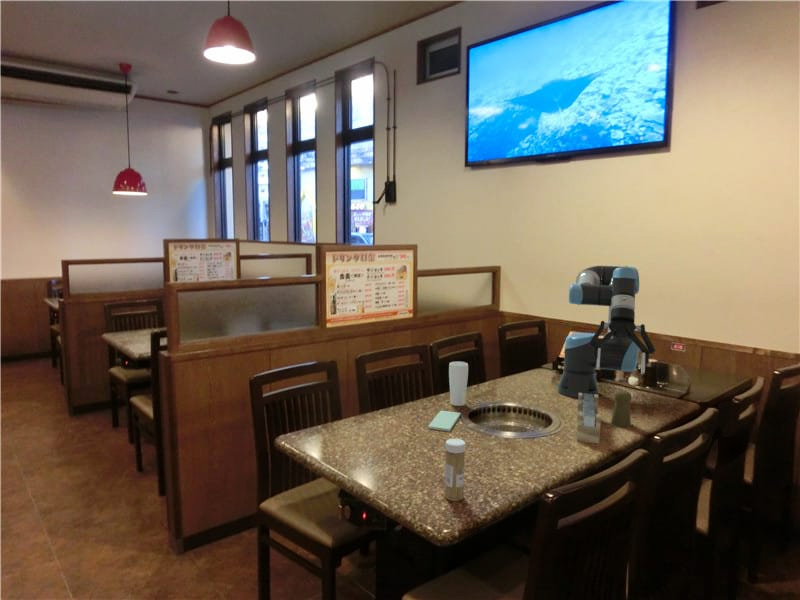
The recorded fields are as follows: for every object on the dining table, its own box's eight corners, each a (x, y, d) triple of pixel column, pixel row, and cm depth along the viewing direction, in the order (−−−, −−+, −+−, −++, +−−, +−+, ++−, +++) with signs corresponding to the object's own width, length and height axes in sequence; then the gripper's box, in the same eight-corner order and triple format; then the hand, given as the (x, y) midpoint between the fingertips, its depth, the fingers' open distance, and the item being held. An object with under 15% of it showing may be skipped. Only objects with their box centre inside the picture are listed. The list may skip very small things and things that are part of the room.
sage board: (440, 412, 182) (440, 410, 182) (460, 415, 180) (460, 412, 180) (427, 428, 167) (428, 426, 167) (449, 431, 165) (449, 429, 165)
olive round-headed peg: (632, 428, 170) (635, 394, 169) (612, 426, 171) (615, 393, 170) (628, 421, 176) (631, 389, 175) (609, 420, 177) (611, 388, 176)
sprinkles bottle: (465, 501, 122) (467, 445, 120) (445, 502, 121) (447, 445, 120) (462, 492, 126) (463, 437, 124) (442, 492, 126) (444, 437, 124)
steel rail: (583, 401, 180) (583, 393, 180) (592, 402, 179) (593, 394, 179) (583, 425, 157) (584, 415, 157) (594, 426, 156) (594, 417, 156)
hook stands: (577, 415, 181) (578, 392, 180) (596, 417, 179) (598, 394, 178) (576, 441, 159) (578, 415, 158) (599, 443, 157) (600, 417, 156)
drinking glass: (462, 400, 195) (463, 360, 194) (470, 406, 189) (471, 365, 187) (445, 402, 193) (446, 362, 191) (452, 408, 187) (453, 366, 185)
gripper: (584, 303, 181) (580, 362, 174) (665, 309, 174) (664, 371, 166) (583, 311, 188) (579, 369, 180) (660, 317, 180) (660, 378, 173)
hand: (620, 370), depth 173 cm, fingers open, 13 cm apart
